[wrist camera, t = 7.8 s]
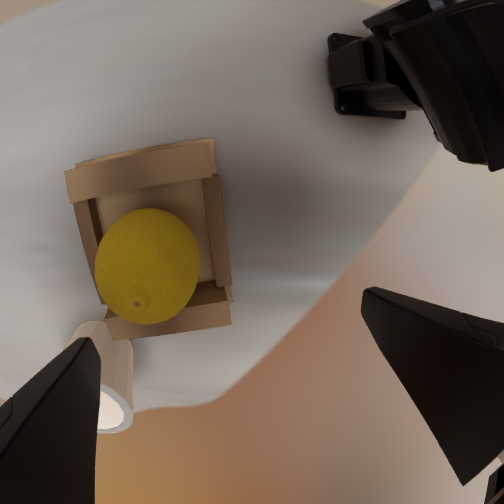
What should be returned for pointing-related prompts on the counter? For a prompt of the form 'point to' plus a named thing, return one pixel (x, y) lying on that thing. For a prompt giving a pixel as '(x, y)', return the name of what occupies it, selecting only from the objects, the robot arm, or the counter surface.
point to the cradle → (168, 199)
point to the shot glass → (111, 376)
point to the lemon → (147, 266)
